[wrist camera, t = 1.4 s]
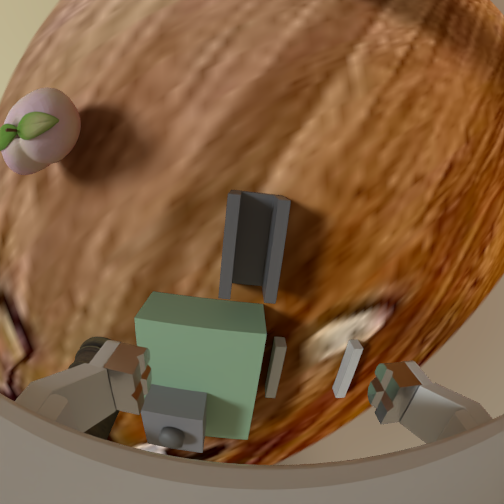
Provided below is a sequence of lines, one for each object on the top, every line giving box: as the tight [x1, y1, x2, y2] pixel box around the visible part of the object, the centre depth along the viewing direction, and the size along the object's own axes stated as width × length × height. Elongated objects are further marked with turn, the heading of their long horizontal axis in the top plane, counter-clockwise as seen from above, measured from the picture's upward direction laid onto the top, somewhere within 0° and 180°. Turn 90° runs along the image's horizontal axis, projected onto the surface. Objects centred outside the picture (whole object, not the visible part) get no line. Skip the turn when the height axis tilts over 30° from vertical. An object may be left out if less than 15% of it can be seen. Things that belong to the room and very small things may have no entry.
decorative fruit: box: [0, 88, 81, 175], centre depth 20 cm, size 9×8×10 cm
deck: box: [135, 292, 363, 453], centre depth 27 cm, size 16×24×11 cm, turn 83°
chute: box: [219, 190, 291, 304], centre depth 26 cm, size 5×9×5 cm, turn 173°
